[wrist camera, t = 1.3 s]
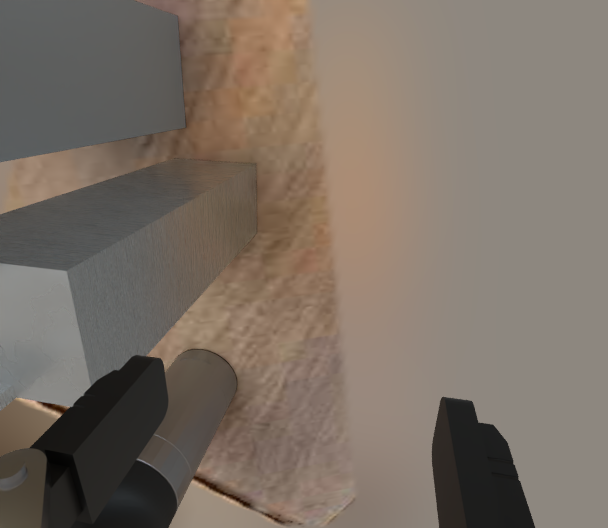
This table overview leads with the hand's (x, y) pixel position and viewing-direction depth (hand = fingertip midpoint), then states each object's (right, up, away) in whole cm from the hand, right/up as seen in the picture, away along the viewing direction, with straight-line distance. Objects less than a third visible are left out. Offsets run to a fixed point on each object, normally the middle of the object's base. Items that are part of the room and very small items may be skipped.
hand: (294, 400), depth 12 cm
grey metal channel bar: (-9, +11, +33) cm, 36 cm away
